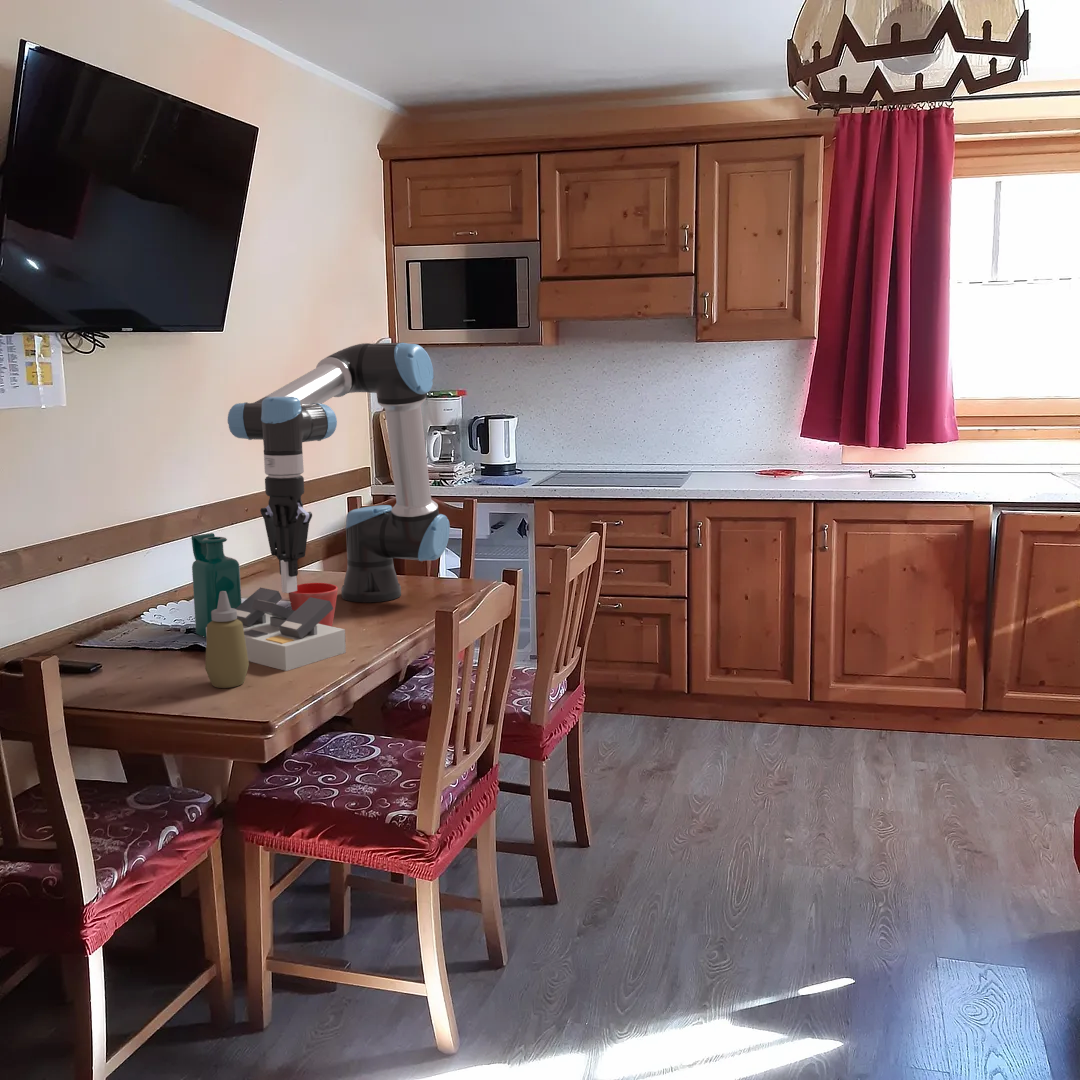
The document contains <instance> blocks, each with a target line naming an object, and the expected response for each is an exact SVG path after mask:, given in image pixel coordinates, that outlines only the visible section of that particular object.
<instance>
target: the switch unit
mask: <svg viewBox="0 0 1080 1080" xmlns="http://www.w3.org/2000/svg"><path fill="white" fill-rule="evenodd" d="M285 620H286V619H283V618H279V617H275V616H272V615H269V614H266V613H265V614H264V615H263V616H262V617H260V618H259V619H258V620H257V621H256V622H255V623H254V624H252V625H251V626H250V627H248V626H244V625H243V630H244V636H245V642H246V649H247V655H248V661H249V662H250V663H254V664H258V665H260V666H261V665H262V666H264V667H265V666H266V667H269V668H273V669H278V670H279V671H284V672H287V671H291V670H294V669H297V668H301V667H304V666H308V665H310V664H314V663H316V662H317V663H318V662H319V661H323V660H326V659H330V658H332V657H336V656H339V655H342V654H346V651H347V650H346V649H347V647H346V629H345V628H340V627H335V626H333V625H332V626H327V625H322V624H317V625H316V626H315V627H314V628H312V629H311V630H310V631H309V632H308V633H307V634H306V635H305V636H304V637H303V638H302V639H299V638H295V637H291V636H286V635H282V634H281V632H280V630H279V628H278V626H279V625H280V624H281V623H282V622H284V621H285ZM205 639H207V627H206V637H205Z"/></svg>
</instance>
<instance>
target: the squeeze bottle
mask: <svg viewBox="0 0 1080 1080" xmlns="http://www.w3.org/2000/svg"><path fill="white" fill-rule="evenodd" d="M211 615H212V620H213V621H211V622H210V623H209V624H207V639H206V638H205V639H206V640H205V641H206V643H205V659H204V660H205V662H204V664H205V665H204V670H205V671H206V674H207V677H208V678H209V681H210V683H211V685H212V686H213V687H215V688H220V689H221V688H222V689H226V688H227V689H228V688H235V687H238V686H240V685H243V684H244V683H245V680H246V676H247V672H248V670H249V665H250V663H249V662H250V661H248V655H247V649H246V642H245V636H244V630H243V623H242V622H241V621H240V620H238V619H237V610H236V609H234V608H231V606H230V603H229V599H228V596H227V592H226V591H220V594H219V600H218V606H217V609H215V610H213V611H211Z"/></svg>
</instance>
